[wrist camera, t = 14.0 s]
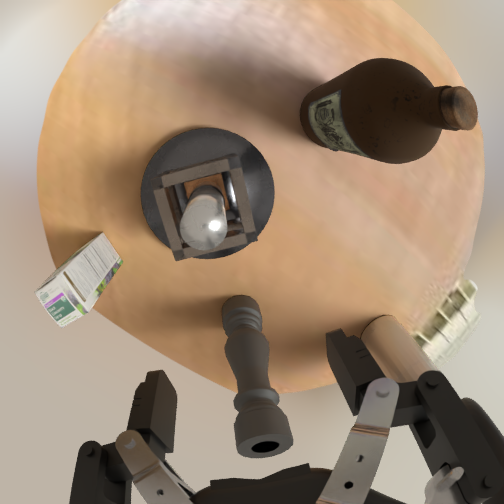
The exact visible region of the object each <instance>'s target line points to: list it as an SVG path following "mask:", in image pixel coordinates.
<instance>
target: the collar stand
mask: <svg viewBox="0 0 504 504" xmlns="http://www.w3.org/2000/svg"><path fill="white" fill-rule="evenodd" d="M204 181H211V182H214V183H216V184H217V185H218V186H219V187H220V188H221V190H222V194H223V196H224V199H225V214H226V220H227V234H226V236H225V238H224V240H223V241H222V242H221V244H219V245H218V246H217V247H215V248H213V249H210V250H198V249H195V248H192V247H191V246H189V245H188V244H187V243H186V242H185V241H184V240H183V238H182V236H181V232H180V222H181V219H182V217H183V214H184V212H185V209H186V207H187V204H188V199H189V196H190V194H191V193H192V191H193V190H194V188H195V187H196V186H197V185H198V184H199V183H201V182H204ZM141 203H142V209H143V213H144V216H145V218H146V221H147V223H148V225H149V226H150V228H151V230H152V231H153V232H154V234H155V235H156V236H157V237H158V238H159V239H160V240H161V241H162V242H163V243H164V244H165V245H166V246H168V247H169V248H171V249H172V252H173V255H174V258H175V261H179V260H183V259H187V258H191V257H193V258H199V259H215V258H220V257H225V256H228V255H231V254H233V253H236V252H238V251H240V250H241V249H243V248H245V247H246V246H248V245H249V244H250V243H251V242H255V241H258V239H257V236H258V235H259V234H260V233H261V231H262V230H263V229H264V227H265V225H266V224H267V222H268V220H269V217H270V215H271V212H272V208H273V204H274V182H273V177H272V174H271V171H270V168H269V166H268V164H267V162H266V160H265V159H264V157H263V156H262V154H261V153H260V152H259V151H258V149H257V148H256V147H255V146H253V145H252V144H251V143H250V142H249V141H247V140H246V139H244V138H243V137H241V136H239V135H237V134H235V133H232V132H229V131H226V130H222V129H215V128H201V129H195V130H190V131H187V132H184V133H182V134H180V135H178V136H176V137H174V138H172V139H171V140H169V141H168V142H166V143H165V144H164V145H163V146H162V147H161V148H160V149H159V150H158V151H157V152H156V153H155V155H154V156H153V157H152V159H151V160H150V162H149V164H148V166H147V168H146V170H145V173H144V176H143V180H142V186H141Z"/></svg>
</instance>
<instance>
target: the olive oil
mask: <svg viewBox="0 0 504 504" xmlns="http://www.w3.org/2000/svg"><path fill="white" fill-rule="evenodd" d="M477 117H478V112H477V106H476V102H475V100H474V98H473V96H472V94H471V93H470V92H469V91H468V90H467V89H466V88H464V87H461V86H457V87H451V86H440V87H434V86H433V85H432V83H431V82H430V81H429V80H428V78H427V77H426V76H425V75H424V74H423V73H422V72H420V71H419V70H418V69H416V68H415V67H413V66H412V65H410V64H408V63H406V62H403V61H400V60H395V59H388V58H376V59H370V60H367V61H364V62H362V63H360V64H358V65H356V66H355V67H353V68H351V69H349V70H348V71H346V72H344V73H343V74H341V75H339V76H337V77H336V78H334V79H332V80H330V81H329V82H327V83H325V84H323V85H321V86H319V87H318V88H316V89H314V90H312V91H311V92H310V93H309V94H308V95H307V96H306V97H305V99H304V100H303V103H302V105H301V110H300V119H301V123H302V126H303V129H304V131H305V132H306V134H307V135H308V137H309V138H310V139H311V140H312V141H314V142H315V143H317V144H318V145H320V146H322V147H325V148H329V149H330V150H333V151H338V150H340V151H345V152H349V153H353V154H357V155H360V156H364V157H367V158H371V159H374V160H377V161H381V162H385V163H390V164H402V163H407V162H411V161H414V160H417V159H419V158H421V157H423V156H425V155H426V154H427V153H428V152H430V151H431V149H432V148H433V147H434V146H435V144H436V143H437V141H438V139H439V136H440V134H441V131H442V129H445V130H453V131H457V130H460V129H461V130H471V129H473V128H474V127H475V125H476V122H477Z"/></svg>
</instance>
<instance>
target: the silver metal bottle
mask: <svg viewBox="0 0 504 504" xmlns="http://www.w3.org/2000/svg"><path fill="white" fill-rule="evenodd" d="M180 232H181V236H182V238H183V240H184V241H185V242H186V243H187V244H188V245H189V246H191V247H192V248H195V249H198V250H210V249H213V248H215V247H217V246H218V245H219V244H221V242H222V241H223V240H224V238H225V236H226V234H227V220H226V214H225V199H224V196H223V194H222V190H221V188H220V187H219V186H218V185H217V184H216V183H214V182H211V181H204V182H201V183H199V184H198V185H197V186H196V187H195V188H194V190H193V191H192V193H191V194H190V196H189V199H188V204H187V207H186V209H185V212H184V214H183V217H182V219H181V222H180Z"/></svg>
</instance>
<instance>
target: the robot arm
mask: <svg viewBox="0 0 504 504" xmlns="http://www.w3.org/2000/svg"><path fill="white" fill-rule="evenodd" d="M326 346H327V357H328V362H329V365H330V367H331V369H332V371H333V373H334V376H335V378H336V380H337V382H338V384H339V386H340V388H341V390H342V392H343V395H344V397H345V399H346V401H347V403H348V405H349V407H350V409H351V412H352V413H353V416H356V415H358V417H357V420H356V422H355V425H354V426H353V427H352V428H351V430H350V433H349V435H348V438H347V441H346V442H345V445H344V447H343V450H342V452H341V454H340V456H339V459H338V461H337V463H336V465H335V467H334V469H333V470H330V469H324V468H310V466H309V463H307V464H303V465H300V466H295V467H291V468H287V469H283V470H281V471H279V472H276V473H274V474H272V475H270V476H267V477H265V478H262V479H241V478H229V479H219V480H211V481H210V485H211V486H208V487H206V488H204V489H202V490H200V491H198V492H197V493H196V492H195V491H194V490H193V489H192V488H190V487H189V486H188V485H187V484H186V483H185V482H184V480H183V479H182V478H181V477H180V476H179V475H178V474H177V473H176V471H175V470H174V469H173V468H172V467H171V465H170V464H169V463H168V462H167V461H166V460H165V453H173V448H174V432H175V420H176V408H177V394H176V391H175V389H174V387H173V385H172V384H171V382H170V381H169V379H168V377H167V375H166V374H165V372H164V371H163V370H157V371H150V372H148V373H147V376H146V380H145V382H142V383H140V385H139V386H138V388H137V389H136V391H135V395H134V400H133V403H132V408H131V413H130V417H129V421H128V426H127V430H126V431H124V432H122V433H121V434H120V435H119V436H118V437H117V439H116V442H113V443H110V444H106V445H103V446H101V445H100V444H99V443H98V442H96V441H87V442H85V443H84V444H83V445H82V446H81V447H80V449H79V452H78V457H77V462H76V467H75V472H74V478H73V483H72V489H71V496H70V503H69V504H131V487H132V485H131V484H132V481H133V483H134V485H135V486H136V488H137V489H138V491H139V492H140V494H141V495H142V496H143V498H144V499H145V501H146V502H147V504H406V503H403V502H400V501H398V500H396V499H393V498H390V497H388V496H386V495H384V494H381V493H379V492H377V491H375V490H373V489H370V487H371V485H372V482H373V479H374V477H375V474H376V472H377V469H378V466H379V463H380V460H381V457H382V455H383V451H384V448H385V445H386V442H387V439H388V435H389V430H390V427H397V426H403V425H409V427H410V429H411V431H412V433H413V435H414V437H415V439H416V441H417V444H418V446H419V448H420V450H421V452H422V454H423V456H424V458H425V461H426V463H427V465H428V467H429V469H430V472H431V474H432V476H433V477H432V478H431V479H430V480H429V482H428V483H427V485H426V487H425V496H426V501H425V504H481V503H482V504H504V436H503V435H502V434H501V432H500V431H499V430H498V428H497V427H496V425H495V424H494V423H493V421H492V420H491V419H490V417H489V416H488V415H487V414H486V412H485V411H484V410H483V409H482V408H481V407H480V405H479V404H477V403H476V402H475V401H474V400H472V399H470V398H463V399H460V398H459V396H458V394H457V393H456V392H455V390H454V388H453V387H452V386H451V384H450V383H449V381H448V380H447V379H446V377H445V376H444V375H443V374H442V373H441V371H440V370H439V369H438V368H437V366H436V365H435V364H434V363H433V361H432V360H431V359H430V358H429V357H428V356H427V354H426V353H425V352H424V351H423V349H422V348H421V347H420V345H419V344H418V343H417V342H416V341H415V340H414V338H413V337H412V336H411V335H410V334H409V333H408V331H407V330H406V329H405V328H404V327H403V326H402V325H401V324H400V323H399V322H398V321H397V319H396V318H395V317H393V316H390V315H386V316H382V317H379V318H377V319H376V320H374V321H373V322H371V323H370V324H369V325H368V326H367V327H366V329H365V330H364V332H363V334H362V336H361V339H359V338H357V337H356V336H354V335H353V336H350V337H346V335H345V334H344V332H343V330H342V329H337V330H334V331H331V332H328V333H326Z"/></svg>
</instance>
